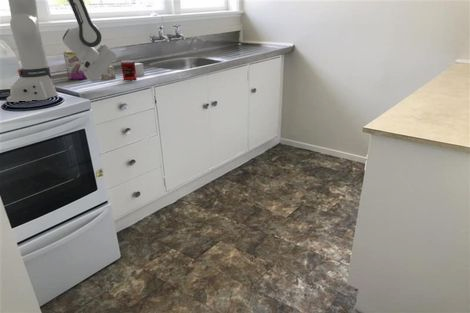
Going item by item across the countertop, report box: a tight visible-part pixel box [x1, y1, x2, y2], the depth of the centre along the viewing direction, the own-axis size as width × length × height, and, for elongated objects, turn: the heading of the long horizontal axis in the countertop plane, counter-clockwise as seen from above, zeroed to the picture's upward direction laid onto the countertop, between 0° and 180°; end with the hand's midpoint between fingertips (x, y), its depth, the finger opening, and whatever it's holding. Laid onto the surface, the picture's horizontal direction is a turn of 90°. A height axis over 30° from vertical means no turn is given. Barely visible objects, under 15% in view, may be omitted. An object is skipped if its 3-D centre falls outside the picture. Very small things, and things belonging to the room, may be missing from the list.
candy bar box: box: [63, 50, 88, 80], centre depth 217 cm, size 11×5×16 cm, turn 92°
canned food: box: [120, 59, 137, 81], centre depth 211 cm, size 8×8×11 cm
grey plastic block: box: [135, 62, 145, 77], centre depth 226 cm, size 6×6×7 cm
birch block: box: [100, 65, 116, 80], centre depth 218 cm, size 6×6×7 cm
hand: (112, 75), depth 194 cm, fingers closed
